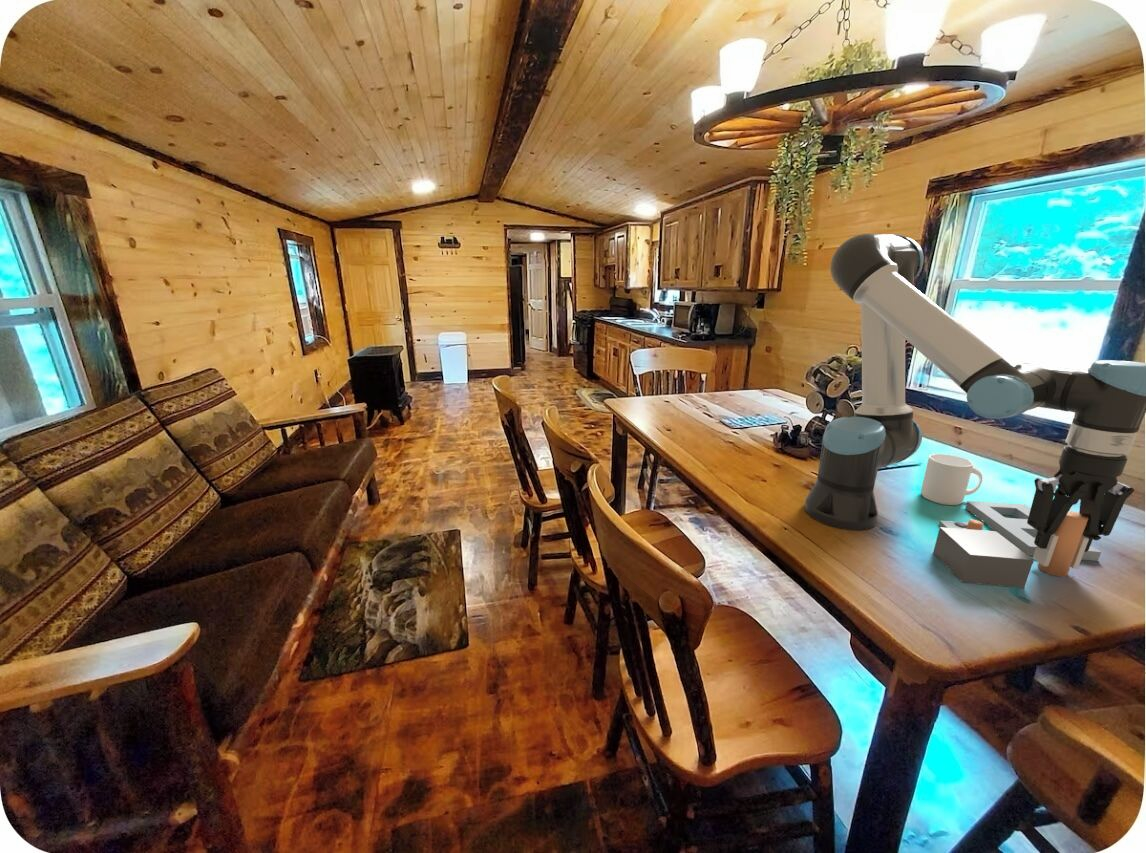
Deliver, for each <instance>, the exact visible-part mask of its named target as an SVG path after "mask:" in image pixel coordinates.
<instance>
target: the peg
mask: <svg viewBox="0 0 1146 853" xmlns="http://www.w3.org/2000/svg"><path fill="white" fill-rule="evenodd" d="M1087 521H1088V517H1086V516H1084V515H1082V514H1080V513H1079V512H1077V511H1072V510H1069V511H1068V513H1067V515H1066V516H1065V518H1064V519H1063V521H1062V522H1061V524H1060V525H1059V527H1058V529H1057V530H1056V532H1055V533H1054V534H1056V535H1057V536H1059V538H1058V540H1057V543H1056V546H1055V549H1054V552H1053V554H1052V557H1051V560H1050V563H1049V566H1043V565H1042V564H1040V563H1039V562H1038V563H1037V568H1039V570H1040V571H1042V572H1044V573H1046V574H1049V575H1052V576H1055V577H1064V578H1065V577H1067V576H1068V574H1069V572H1070V568H1071V567H1070V566H1071V564H1072V561H1073V558H1074V556H1075V553H1076V550H1077V548H1078V545H1079V542H1080V540H1081V537H1082V534H1083V532H1084V529H1085V526H1086V524H1087Z"/></svg>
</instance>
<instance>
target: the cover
mask: <svg viewBox="0 0 1146 853" xmlns="http://www.w3.org/2000/svg"><path fill="white" fill-rule="evenodd" d="M934 544H935V545H934V547H933V548H934V549H933V554H934V555H935V557H936V558H938V559H939V560H940V561H941V562H942V563H943V564H944V565H945V566H946V567H947V566H948V567H947V568H948V569H949V568H950V569H949V571H950V572H952V573H953V575H954V576H956V578H958V580H961V581H962V582H961V581H960V582H961V583H965V582H966V583H967V584H976V585H977V584H978V585H988V586H996V587H997V586H998V587H1008V588H1018V589H1019V588H1020V589H1025V586H1026V585H1027V581H1028V579H1029V575H1030V572H1031V570H1032V569H1031V568H1032V567H1033V563H1034V561H1035V559H1034V558H1033V557H1030V555H1026V554H1025V553H1024V552H1023V551H1021V550H1020V549H1019V548H1017V547H1016V546H1015V545H1013V544H1012V543H1011V542H1009V541H1008V540H1007V539H1005V538H1004V537H1003V536H1002V535H1000V534H999V533H998V532H996V531H995V530H985V529H983V530H972V529H958V528H945V527H941V526H940V527H939V529H938V532H937V537H936V540H935V543H934Z"/></svg>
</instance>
